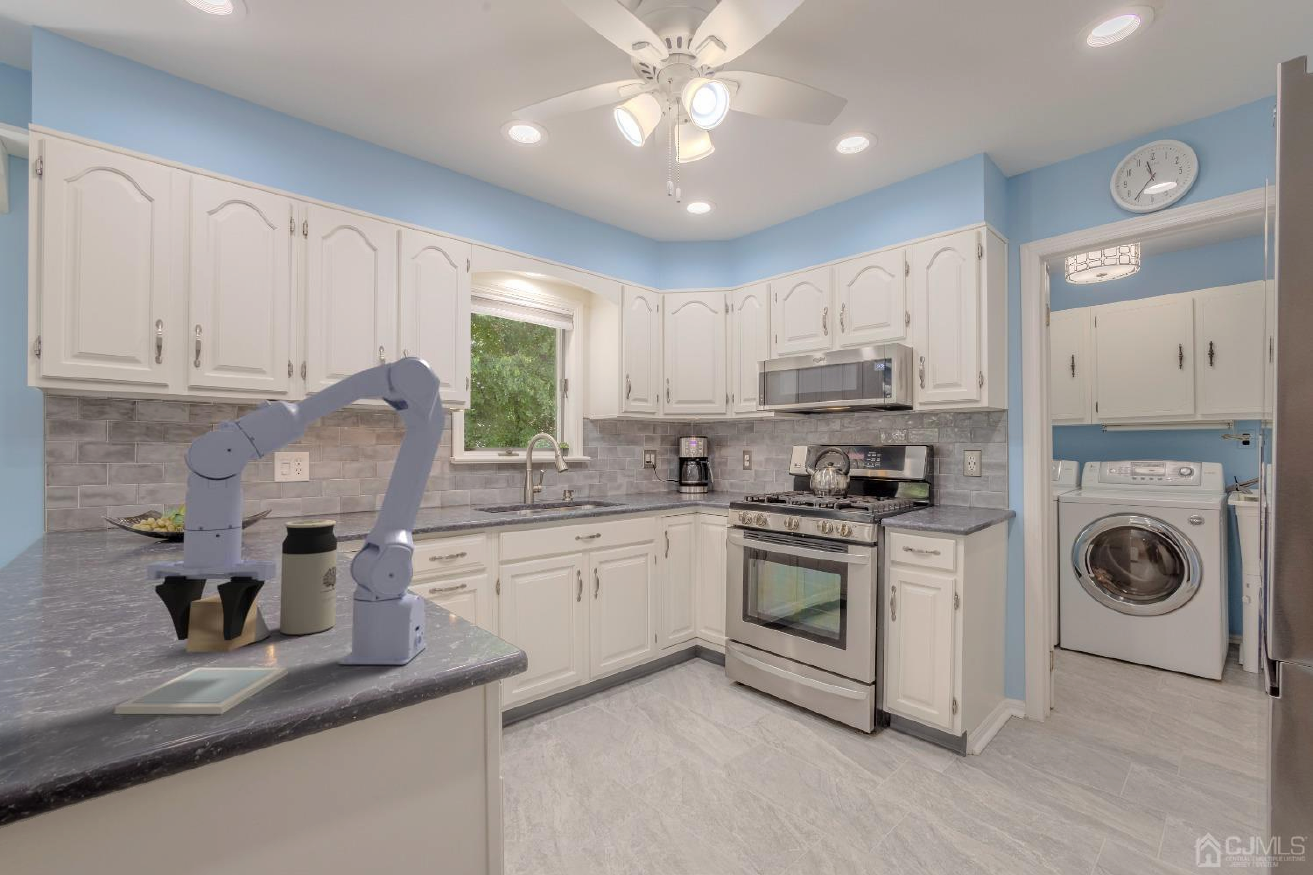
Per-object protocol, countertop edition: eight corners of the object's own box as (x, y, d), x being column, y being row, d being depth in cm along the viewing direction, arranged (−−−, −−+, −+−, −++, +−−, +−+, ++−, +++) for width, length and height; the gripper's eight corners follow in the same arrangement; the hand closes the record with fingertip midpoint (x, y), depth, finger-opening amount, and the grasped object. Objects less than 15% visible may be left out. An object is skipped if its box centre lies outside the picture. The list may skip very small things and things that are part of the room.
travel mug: (267, 634, 94) (271, 523, 95) (307, 620, 102) (309, 518, 102) (308, 637, 92) (311, 525, 93) (345, 623, 100) (348, 520, 101)
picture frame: (287, 673, 77) (287, 666, 77) (221, 713, 65) (222, 705, 65) (197, 673, 77) (197, 666, 77) (114, 713, 65) (115, 705, 65)
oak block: (254, 641, 76) (258, 594, 77) (228, 651, 71) (232, 601, 72) (215, 641, 76) (219, 594, 76) (186, 651, 71) (191, 601, 71)
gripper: (126, 531, 68) (121, 648, 67) (250, 532, 68) (246, 648, 67) (175, 524, 75) (171, 629, 74) (287, 525, 75) (284, 630, 75)
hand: (210, 637), depth 71 cm, fingers closed on oak block, 5 cm apart
